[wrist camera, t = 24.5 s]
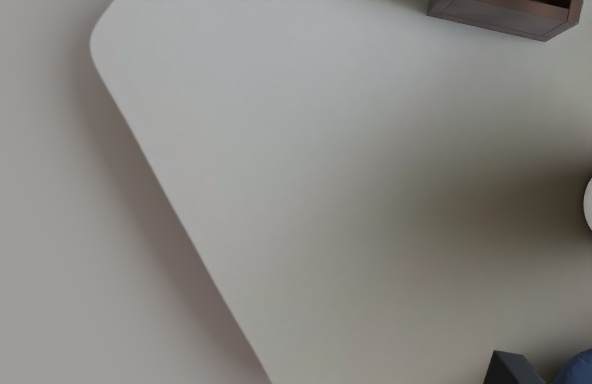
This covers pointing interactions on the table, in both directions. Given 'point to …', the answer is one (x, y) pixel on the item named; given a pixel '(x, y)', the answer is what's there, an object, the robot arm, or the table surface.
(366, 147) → the table surface
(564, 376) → the decorative stone
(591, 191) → the jar
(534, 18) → the square wooden tray
